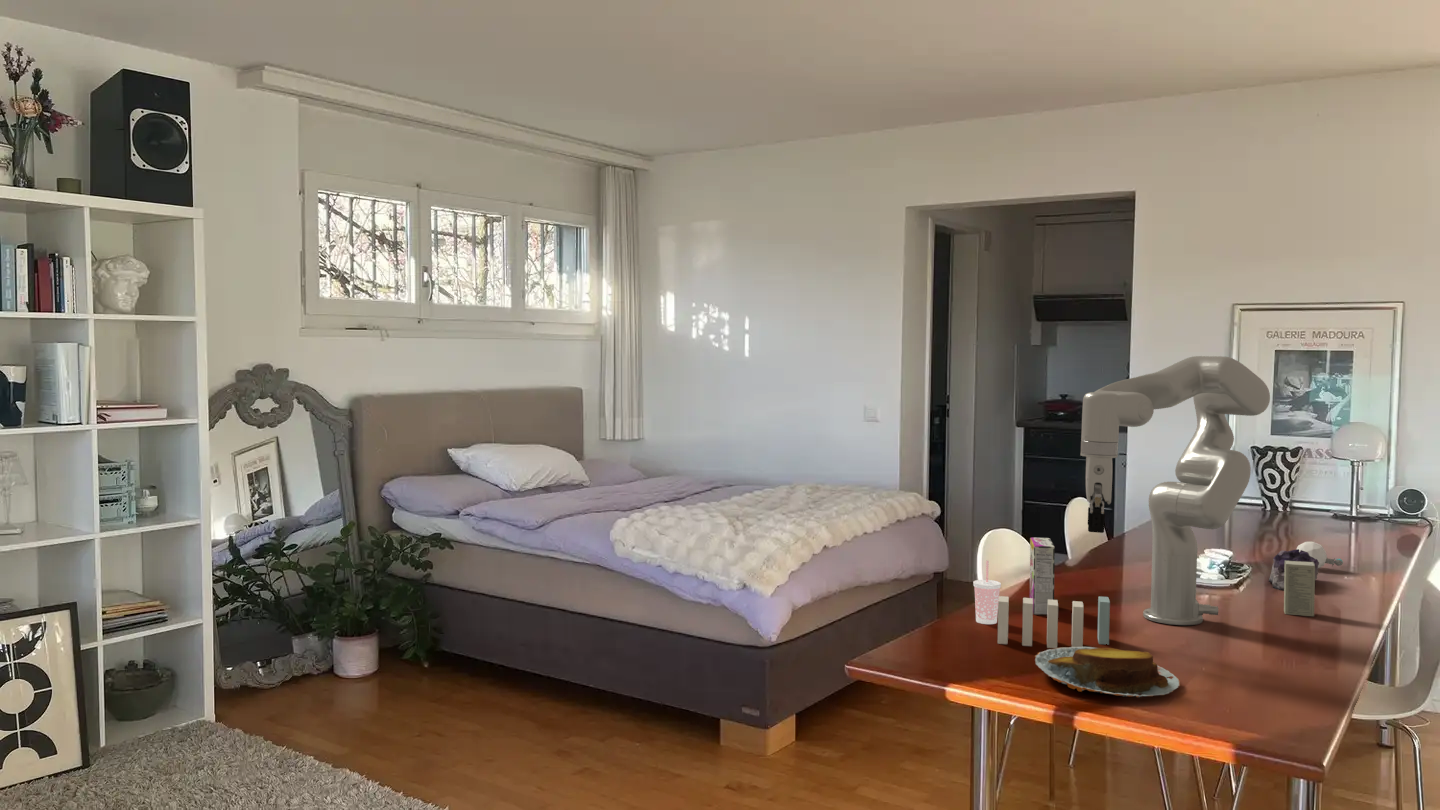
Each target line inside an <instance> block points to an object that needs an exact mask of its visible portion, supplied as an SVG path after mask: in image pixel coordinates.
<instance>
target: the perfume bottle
mask: <svg viewBox="0 0 1440 810" xmlns="http://www.w3.org/2000/svg"><path fill="white" fill-rule="evenodd" d="M1296 549H1299V552H1300V551H1301V550H1302V551H1305V552H1308V553H1309V555H1310V556H1311V557H1313V558H1315V559H1317V560H1318V562H1319V565H1318V569H1321V568H1322V567H1324V566H1325V564H1328V565H1331V567H1333V566H1334V565H1336V566H1338V567H1339V566H1342V565H1343V563H1344V562H1343V559H1341V558H1328V556H1327V551H1326V549H1325V548H1324V547H1323V545H1322V544H1320V543H1317V542H1316V541H1304V542H1302V543H1300V544H1298V546H1297V547H1296Z"/></svg>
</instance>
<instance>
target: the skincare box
mask: <svg viewBox="0 0 1440 810" xmlns="http://www.w3.org/2000/svg"><path fill="white" fill-rule="evenodd" d="M1315 583H1316V579H1315V564H1314V563H1313V562H1302V561H1286V560H1285V573H1284V591H1283V594H1284V595H1283V612H1284V614H1285V615H1293V616H1301V617H1302V616H1303V617H1315V598H1316V597H1315V596H1316V595H1315V588H1316V587H1315V585H1316V584H1315Z"/></svg>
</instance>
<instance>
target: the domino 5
mask: <svg viewBox="0 0 1440 810" xmlns="http://www.w3.org/2000/svg"><path fill="white" fill-rule="evenodd" d="M1097 601H1098V602H1097V643H1098V645H1106V644H1107V645H1108V646H1109V645H1110V619H1111V618H1110V617H1111V616H1110V615H1111V613H1110V611H1111V610H1110V608H1111V601H1110V599H1109V597H1108V596H1098V599H1097ZM1107 645H1106V646H1107Z"/></svg>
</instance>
